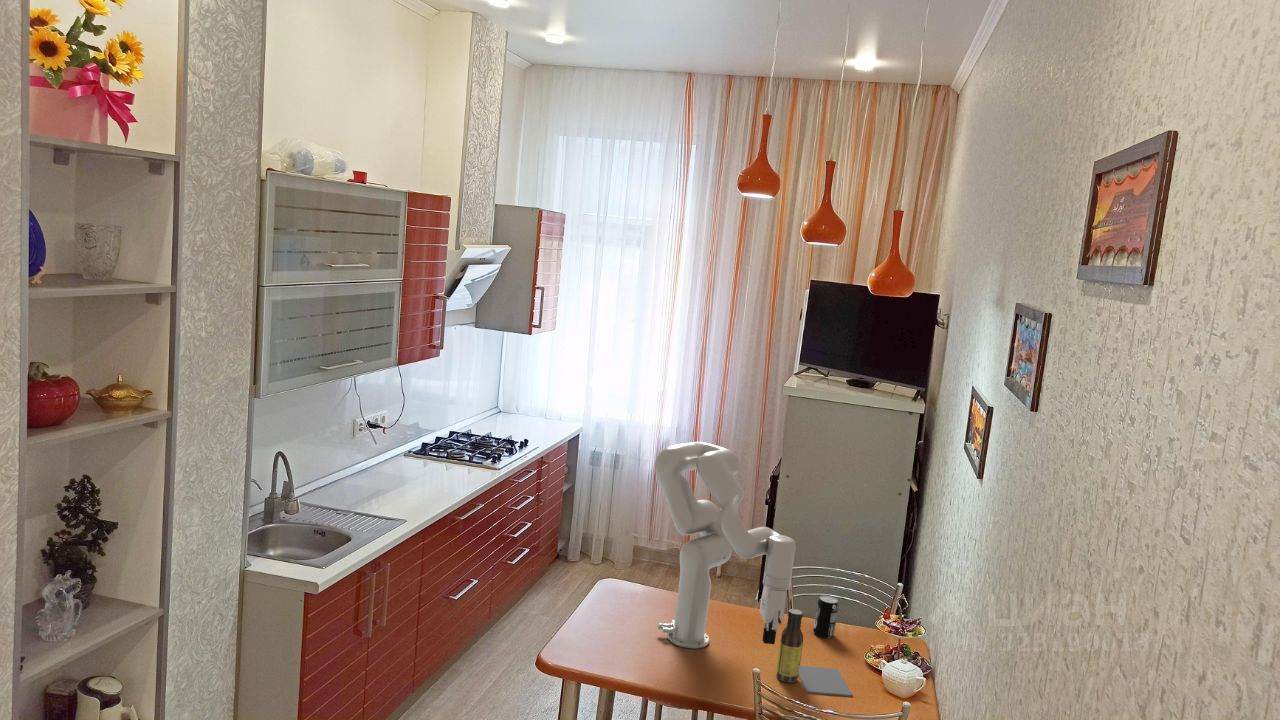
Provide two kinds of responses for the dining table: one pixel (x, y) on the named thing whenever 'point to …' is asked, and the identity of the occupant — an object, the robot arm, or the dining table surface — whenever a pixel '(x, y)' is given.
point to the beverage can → (826, 616)
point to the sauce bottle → (790, 648)
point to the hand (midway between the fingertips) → (768, 642)
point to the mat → (823, 681)
